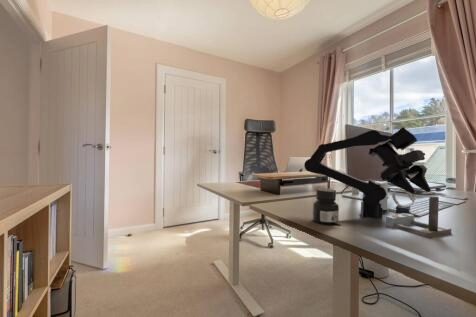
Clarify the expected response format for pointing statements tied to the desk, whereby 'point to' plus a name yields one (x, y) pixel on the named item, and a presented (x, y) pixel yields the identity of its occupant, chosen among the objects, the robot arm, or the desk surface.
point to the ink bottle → (325, 207)
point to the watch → (402, 207)
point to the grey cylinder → (433, 215)
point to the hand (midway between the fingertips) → (422, 192)
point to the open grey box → (422, 233)
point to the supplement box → (384, 201)
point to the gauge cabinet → (399, 219)
